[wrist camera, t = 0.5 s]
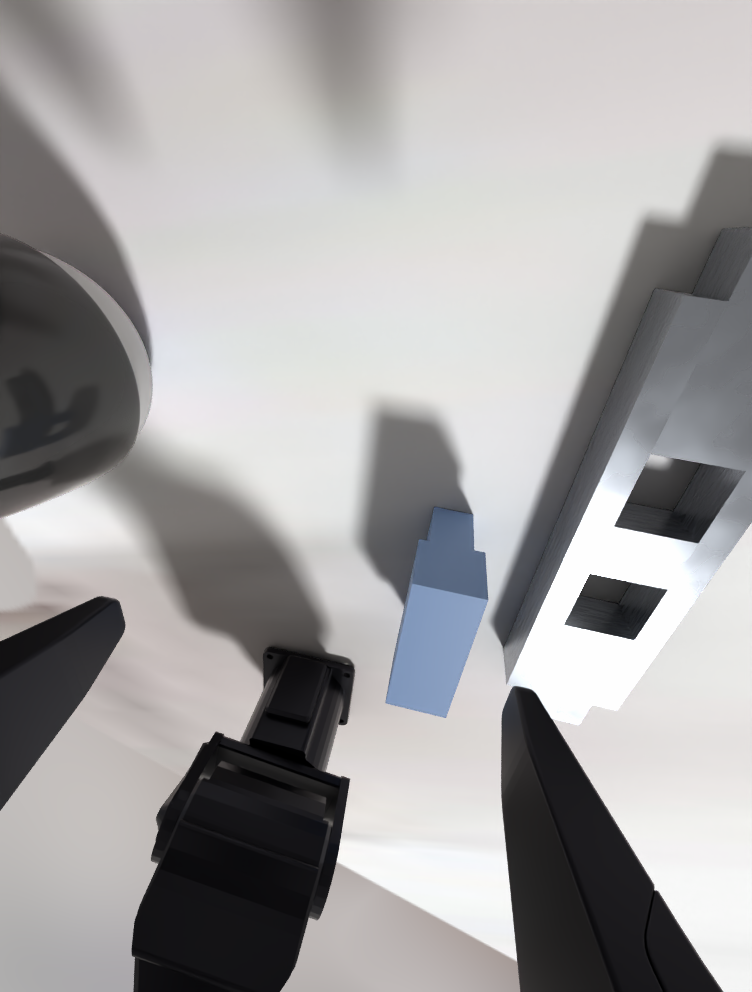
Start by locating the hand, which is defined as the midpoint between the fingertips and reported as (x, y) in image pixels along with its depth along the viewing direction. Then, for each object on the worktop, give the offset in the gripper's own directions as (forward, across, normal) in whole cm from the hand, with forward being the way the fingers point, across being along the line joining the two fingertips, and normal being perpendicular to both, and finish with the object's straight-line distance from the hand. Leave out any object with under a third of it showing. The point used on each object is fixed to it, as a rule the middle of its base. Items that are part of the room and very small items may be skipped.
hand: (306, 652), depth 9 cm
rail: (+13, -12, +2) cm, 17 cm away
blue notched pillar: (+13, -4, +7) cm, 15 cm away
